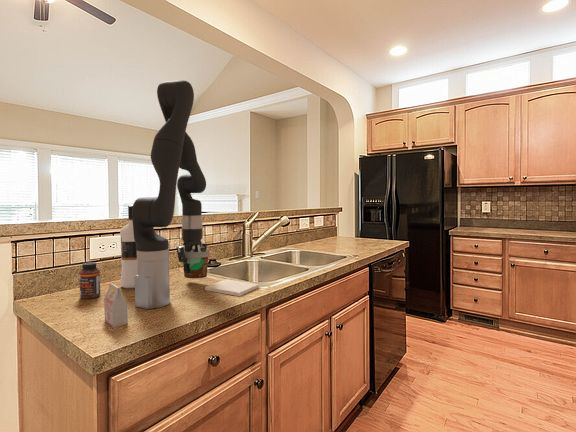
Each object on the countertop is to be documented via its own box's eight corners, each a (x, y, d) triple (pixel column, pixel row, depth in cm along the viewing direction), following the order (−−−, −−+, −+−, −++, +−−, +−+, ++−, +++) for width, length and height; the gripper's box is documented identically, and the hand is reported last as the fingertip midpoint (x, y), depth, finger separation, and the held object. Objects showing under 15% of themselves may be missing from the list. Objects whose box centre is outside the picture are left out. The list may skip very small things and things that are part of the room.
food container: (173, 276, 129) (173, 250, 129) (185, 274, 134) (185, 248, 134) (198, 280, 123) (198, 253, 123) (209, 277, 129) (209, 251, 128)
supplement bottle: (77, 300, 110) (75, 265, 109) (83, 294, 115) (81, 261, 114) (97, 298, 111) (96, 264, 110) (102, 293, 117) (101, 261, 116)
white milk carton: (119, 317, 95) (118, 281, 94) (127, 323, 90) (126, 286, 89) (104, 320, 92) (103, 284, 92) (113, 327, 87) (111, 289, 87)
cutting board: (239, 296, 114) (239, 292, 113) (205, 290, 121) (205, 286, 121) (259, 287, 124) (259, 284, 124) (226, 282, 131) (226, 279, 131)
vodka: (147, 287, 124) (144, 205, 122) (119, 290, 121) (116, 205, 119) (148, 281, 133) (145, 204, 131) (122, 283, 130) (119, 205, 127)
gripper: (185, 229, 120) (185, 276, 121) (212, 226, 133) (212, 269, 134) (170, 228, 124) (170, 274, 125) (198, 225, 137) (198, 267, 137)
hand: (192, 271), depth 129 cm, fingers closed on food container, 5 cm apart
